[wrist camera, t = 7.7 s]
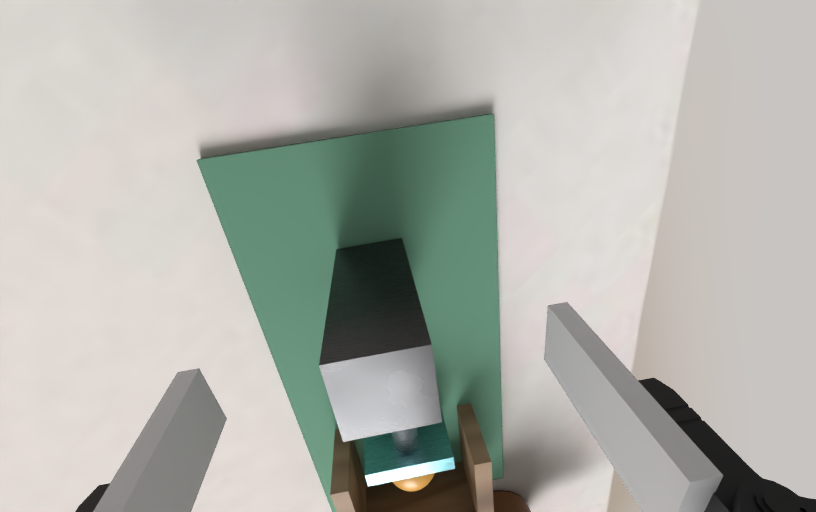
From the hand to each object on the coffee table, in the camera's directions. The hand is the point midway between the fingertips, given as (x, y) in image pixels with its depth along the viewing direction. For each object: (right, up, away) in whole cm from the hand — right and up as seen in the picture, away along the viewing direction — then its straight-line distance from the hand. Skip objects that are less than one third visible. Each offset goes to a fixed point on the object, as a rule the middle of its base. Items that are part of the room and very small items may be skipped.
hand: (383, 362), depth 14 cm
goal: (+1, -12, +16) cm, 21 cm away
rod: (0, -2, +11) cm, 11 cm away
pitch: (0, -4, +13) cm, 13 cm away
